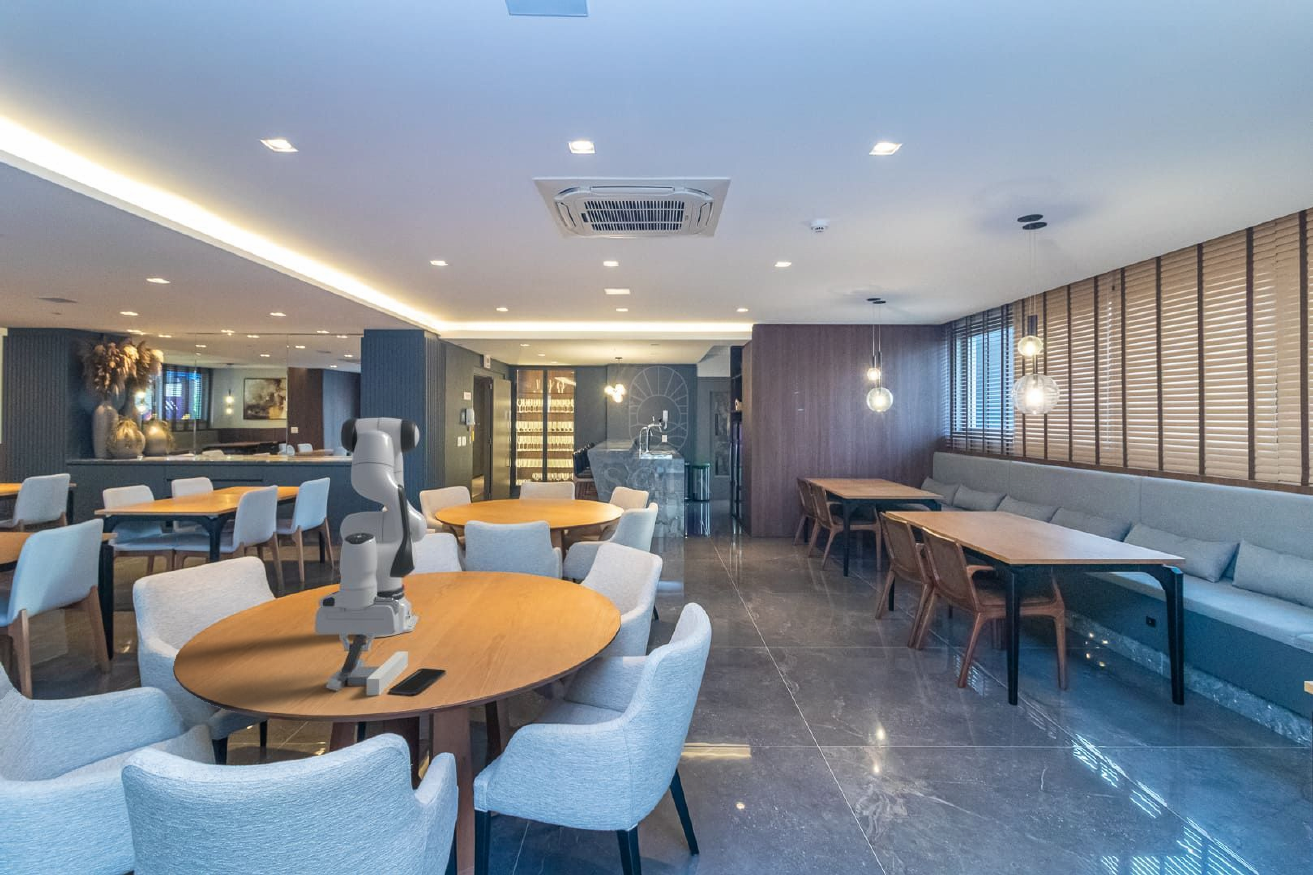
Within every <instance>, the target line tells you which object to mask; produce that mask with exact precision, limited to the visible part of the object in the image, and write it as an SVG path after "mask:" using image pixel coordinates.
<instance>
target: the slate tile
mask: <svg viewBox="0 0 1313 875" xmlns="http://www.w3.org/2000/svg"><path fill="white" fill-rule="evenodd" d="M379 667H380V666H364V667H359V668H358V669H357V670H356V671H355V672H353V673H352V674H351V675H350V676H349V677H348V683H347V686H367V678H368V677H369V676H371V675H372V674H373V673H374V672H375V671H376V670H377V669H378V668H379Z"/></svg>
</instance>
